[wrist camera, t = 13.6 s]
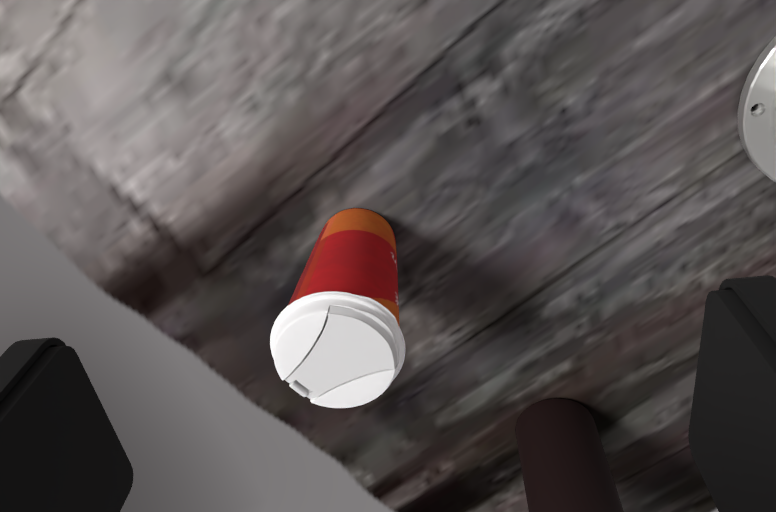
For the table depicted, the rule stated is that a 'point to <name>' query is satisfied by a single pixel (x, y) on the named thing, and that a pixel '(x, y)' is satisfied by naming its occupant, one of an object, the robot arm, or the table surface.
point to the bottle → (564, 459)
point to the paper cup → (343, 315)
